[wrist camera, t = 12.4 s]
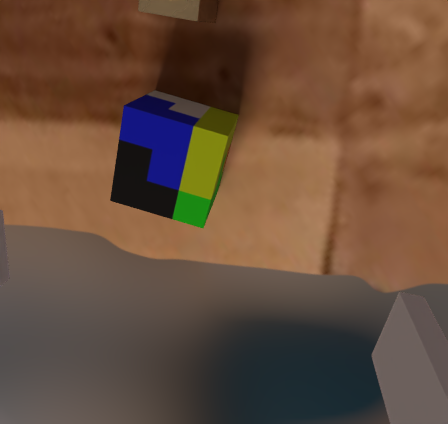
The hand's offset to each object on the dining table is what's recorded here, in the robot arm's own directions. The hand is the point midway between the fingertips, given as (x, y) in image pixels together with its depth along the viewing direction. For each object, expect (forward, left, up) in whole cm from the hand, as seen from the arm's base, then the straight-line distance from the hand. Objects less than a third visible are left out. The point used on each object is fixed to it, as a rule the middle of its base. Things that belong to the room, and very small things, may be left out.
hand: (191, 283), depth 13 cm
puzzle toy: (-7, -6, -35) cm, 36 cm away
